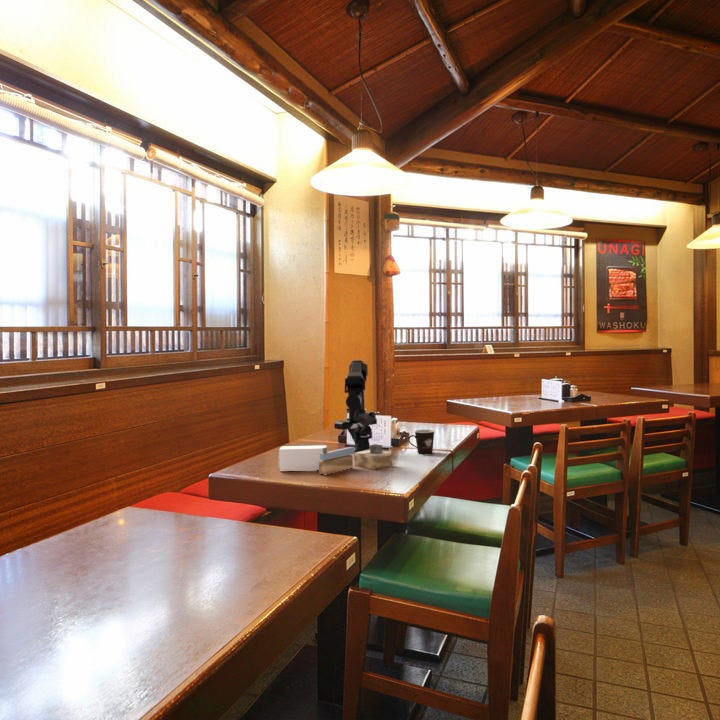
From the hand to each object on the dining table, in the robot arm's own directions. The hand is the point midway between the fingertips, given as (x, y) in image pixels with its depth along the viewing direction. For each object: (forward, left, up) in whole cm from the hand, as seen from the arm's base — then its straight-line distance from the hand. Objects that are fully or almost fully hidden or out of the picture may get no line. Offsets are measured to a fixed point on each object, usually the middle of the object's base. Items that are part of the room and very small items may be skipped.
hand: (356, 443), depth 227 cm
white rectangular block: (-12, -19, -10) cm, 24 cm away
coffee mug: (+5, +35, -10) cm, 36 cm away
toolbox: (+5, +5, -9) cm, 11 cm away
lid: (+5, +5, -5) cm, 8 cm away
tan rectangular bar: (0, -11, -9) cm, 15 cm away
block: (0, -10, -4) cm, 11 cm away
